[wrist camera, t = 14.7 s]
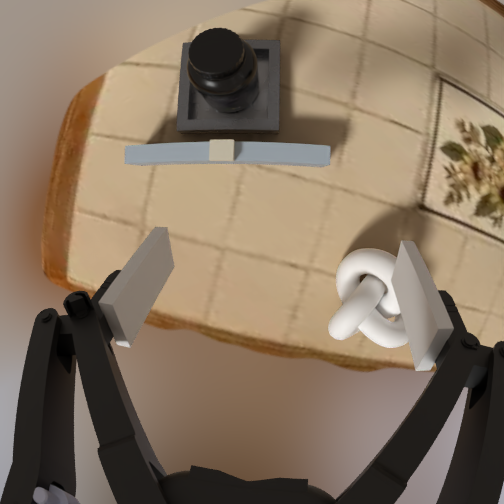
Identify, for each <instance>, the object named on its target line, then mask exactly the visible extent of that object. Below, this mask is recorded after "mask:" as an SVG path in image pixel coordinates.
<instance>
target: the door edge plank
mask: <svg viewBox="0 0 504 504" xmlns="http://www.w3.org/2000/svg"><path fill="white" fill-rule="evenodd" d="M125 164H132V165H141V166H143V165H166V164H269V165H293V166H311V167H324V166H327V165H330V146H326V145H313V144H297V143H275V142H235V140H210V142H181V143H160V144H144V145H131V146H125Z"/></svg>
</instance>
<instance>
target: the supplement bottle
mask: <svg viewBox="0 0 504 504" xmlns="http://www.w3.org/2000/svg"><path fill="white" fill-rule="evenodd" d="M188 55H189V58H188V61H187V74H188V77H189V80H190V81H191V83H192V85H193V86H194V87H195V88H196V90H197V91H198V92H199V93H200V94H201V96H202V97H203V98H204V99H205V101H206V102H207V103H208V104H209V105H210V106H212V107H213V108H215V109H217V110H219V111H222V112H236V111H240V110H242V109H244V108H246V107H248V106H249V105H250V104H251V103H252V102H253V101H254V100H255V98H256V96H257V94H258V91H259V74H258V63H257V57H256V54H255V52H254V50H253V48H252V47H251V46H250V45H249V44H248V43H247V42H246V41H244V40H243V39H241V38H239V36H238V35H237V34H236V33H235V32H232V31H231V30H227V29H226V28H213V29H209V30H206V31H204V32H202V33H200V34H199V35H198V36H196V37H195V39H194V40H193V41H192V43H191V44H190V47H189V52H188Z"/></svg>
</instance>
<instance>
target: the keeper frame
mask: <svg viewBox="0 0 504 504" xmlns="http://www.w3.org/2000/svg"><path fill="white" fill-rule="evenodd" d="M244 41H246V42H247V43H248V44H249V45H250V46H251V47H252V48H253V50H254V52H255V54H256V57H257V63H258V74H259V91H258V94H257V96H256V98H255V100H254V101H253V102H252V103H251V104H250V105H249V106H248V107H246V108H244V109H242V110H240V111H236V112H222V111H219V110H217V109H215V108H213V107H212V106H210V105H209V104H208V103H207V102H206V101H205V99H204V98H203V97H202V96H201V94H200V93H199V92H198V91H197V90H196V88H195V87H194V86H193V85H192V83H191V81H190V80H189V77H188V74H187V61H188V58H189V55H188V52H189V47H190V44H191V43H192V42H189V43H183V48H182V58H181V69H180V81H179V95H178V112H177V131H178V132H180V133H181V134H194V133H269V134H278V132H279V100H280V40H244Z"/></svg>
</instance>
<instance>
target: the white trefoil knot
mask: <svg viewBox="0 0 504 504" xmlns="http://www.w3.org/2000/svg"><path fill="white" fill-rule="evenodd" d="M396 260H397V257H395V256H394V255H392V254H391V253H388V252H386V251H384V250H380V249H375V248H362V249H358V250H354V251H353V252H351V253H349V254H348V255H347V256H346V257H345V258H344V259H343V260H342V261H341V263H340V264H339V266H338V269H337V273H336V287H337V291H338V294H339V297H340V299H341V301H342V303H343V305H342V306H341V307H340V308H339V309H338V310H337V312H336V313H335V314H334V315H333V316H332V318H331V319H330V321H329V326H328V330H329V333H330V335H331V336H332V337H333V338H335V339H338V340H344V339H346V338H349V337H351V336H352V335H354V334H356V333H357V332H359V331H360V330H361V331H362V332H363V333H364V334H365V335H366V336H367V337H368V338H369V339H371V340H372V341H373V342H375V343H376V344H378V345H380V346H383V347H387V348H395V347H399V346H402V345H404V344H406V343H407V342H408V337H407V333H406V330H405V326H404V322H403V319H402V315H401V312H400V308H399V305H398V302H397V298H396V295H395V292H394V289H393V286H392V282H391V278H392V274H393V271H394V267H395V263H396ZM363 274H368V275H367V276H366V277H365V278H364V279H363V281H362V282H361V283H360V276H361V275H363ZM384 293H385V294H384ZM394 316H395V321H394V322H391V321H389V320H387V319H388V318H391V317H394Z"/></svg>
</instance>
